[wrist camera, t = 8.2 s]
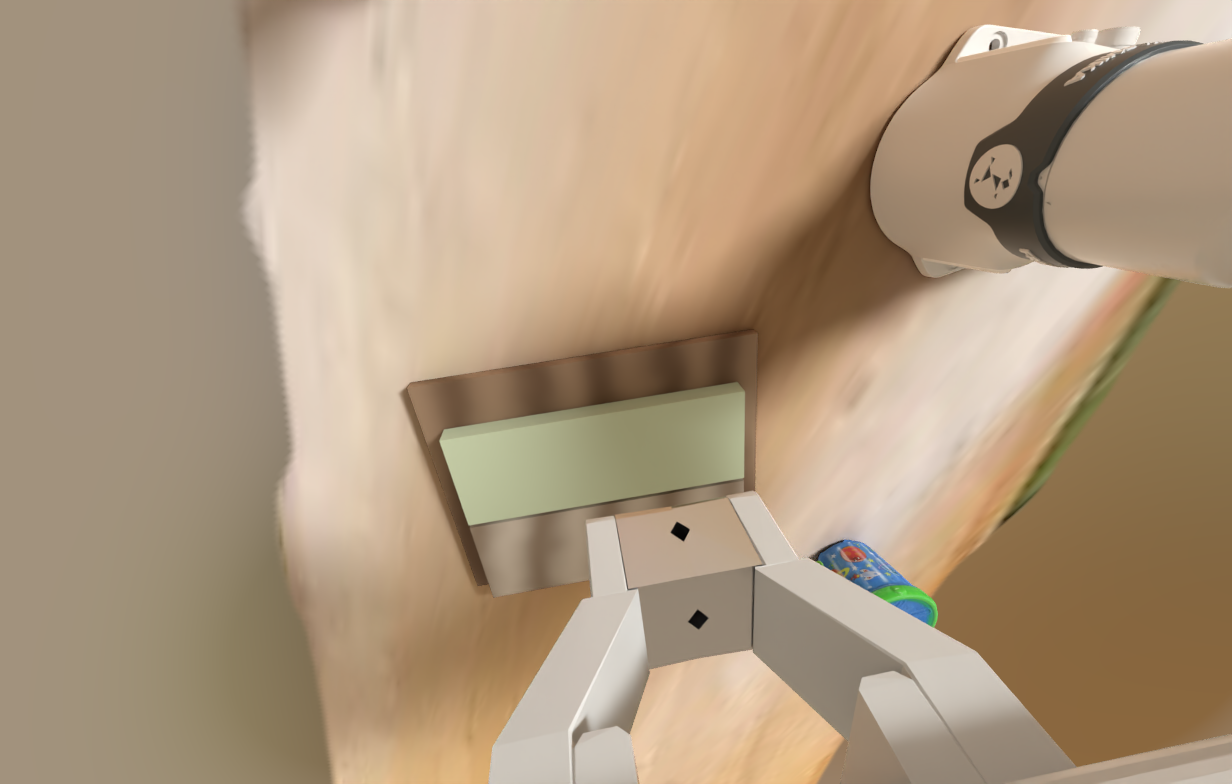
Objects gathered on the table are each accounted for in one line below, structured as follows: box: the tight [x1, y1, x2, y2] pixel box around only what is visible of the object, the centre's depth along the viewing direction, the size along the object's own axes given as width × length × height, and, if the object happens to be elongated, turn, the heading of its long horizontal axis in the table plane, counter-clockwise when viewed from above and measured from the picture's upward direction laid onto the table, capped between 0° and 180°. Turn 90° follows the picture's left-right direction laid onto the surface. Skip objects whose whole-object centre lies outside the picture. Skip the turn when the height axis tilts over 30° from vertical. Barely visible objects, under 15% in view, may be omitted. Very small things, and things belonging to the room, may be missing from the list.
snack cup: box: [816, 540, 938, 628], centre depth 55 cm, size 16×10×10 cm
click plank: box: [439, 382, 745, 525], centre depth 45 cm, size 28×10×2 cm, turn 97°
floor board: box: [407, 329, 758, 598], centre depth 47 cm, size 32×25×3 cm
